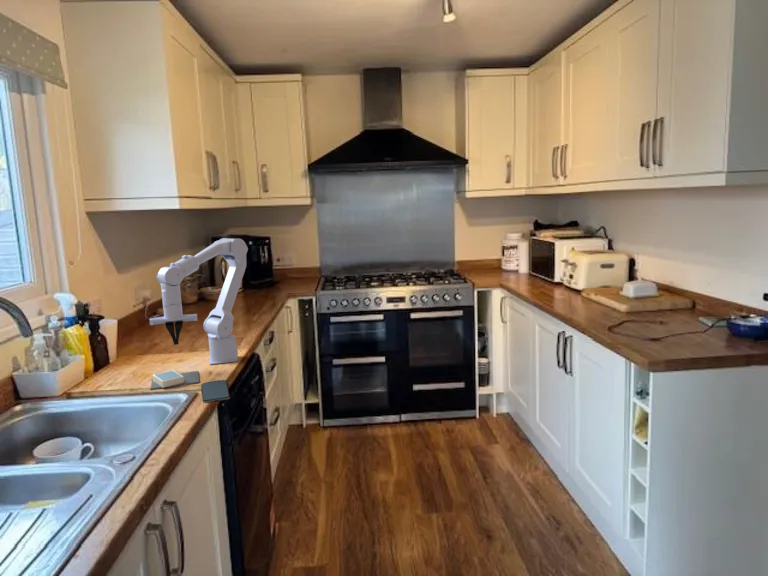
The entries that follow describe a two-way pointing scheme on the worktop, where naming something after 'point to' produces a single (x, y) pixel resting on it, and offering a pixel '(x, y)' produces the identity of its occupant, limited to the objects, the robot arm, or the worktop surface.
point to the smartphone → (215, 391)
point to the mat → (188, 379)
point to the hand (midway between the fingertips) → (176, 343)
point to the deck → (168, 378)
